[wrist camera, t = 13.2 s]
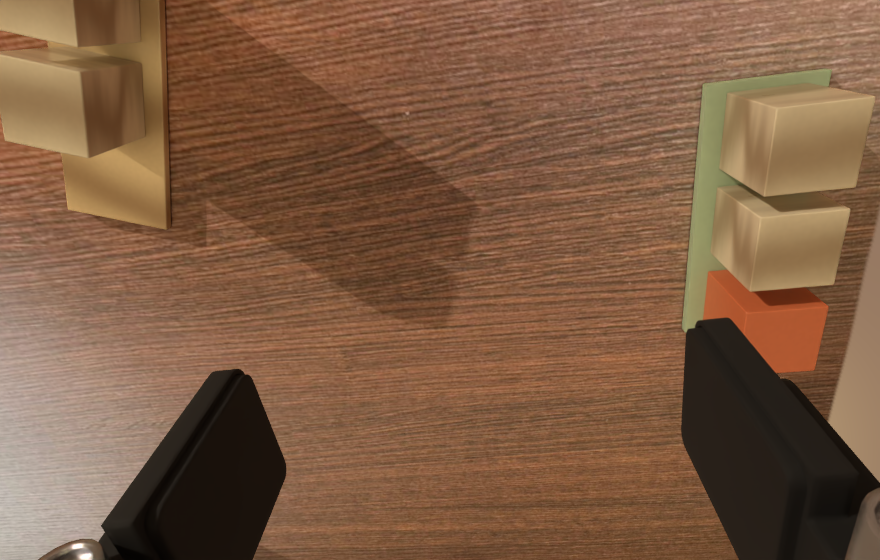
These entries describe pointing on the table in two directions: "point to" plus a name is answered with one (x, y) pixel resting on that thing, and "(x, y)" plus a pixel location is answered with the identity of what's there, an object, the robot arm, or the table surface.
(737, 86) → the word board
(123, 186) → the word board
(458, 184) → the table surface
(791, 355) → the terracotta cube
